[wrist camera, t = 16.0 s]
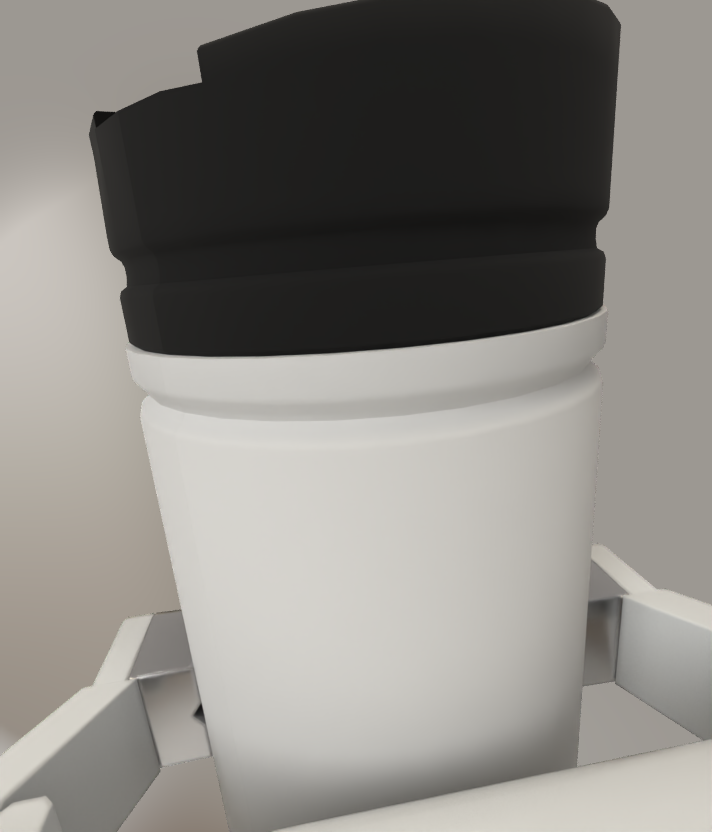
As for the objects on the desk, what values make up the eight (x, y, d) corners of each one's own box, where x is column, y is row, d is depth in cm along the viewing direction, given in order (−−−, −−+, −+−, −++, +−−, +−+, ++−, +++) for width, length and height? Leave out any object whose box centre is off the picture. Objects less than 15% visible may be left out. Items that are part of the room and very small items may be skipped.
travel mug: (594, 970, 12) (687, 34, 7) (472, 1438, 8) (418, -495, 2) (392, 812, 16) (340, 142, 10) (229, 1051, 11) (-31, 64, 6)
